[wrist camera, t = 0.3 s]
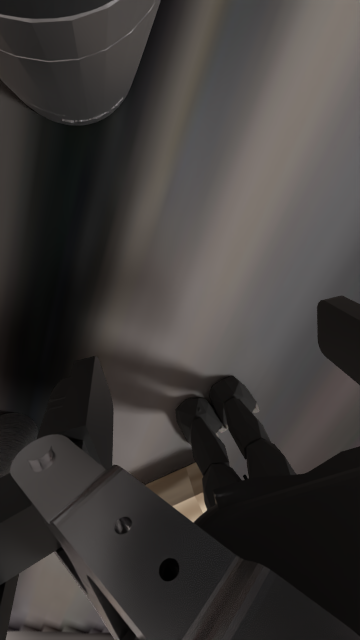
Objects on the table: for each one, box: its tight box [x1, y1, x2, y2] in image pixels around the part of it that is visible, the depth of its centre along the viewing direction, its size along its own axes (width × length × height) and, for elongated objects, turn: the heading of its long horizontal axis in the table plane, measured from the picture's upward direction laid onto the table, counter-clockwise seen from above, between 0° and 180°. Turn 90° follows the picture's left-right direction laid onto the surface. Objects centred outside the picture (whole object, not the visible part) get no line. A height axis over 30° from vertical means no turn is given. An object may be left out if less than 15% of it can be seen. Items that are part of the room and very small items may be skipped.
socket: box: [145, 463, 207, 522], centre depth 40 cm, size 14×14×4 cm
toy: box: [176, 376, 296, 510], centre depth 23 cm, size 30×8×30 cm, turn 118°
